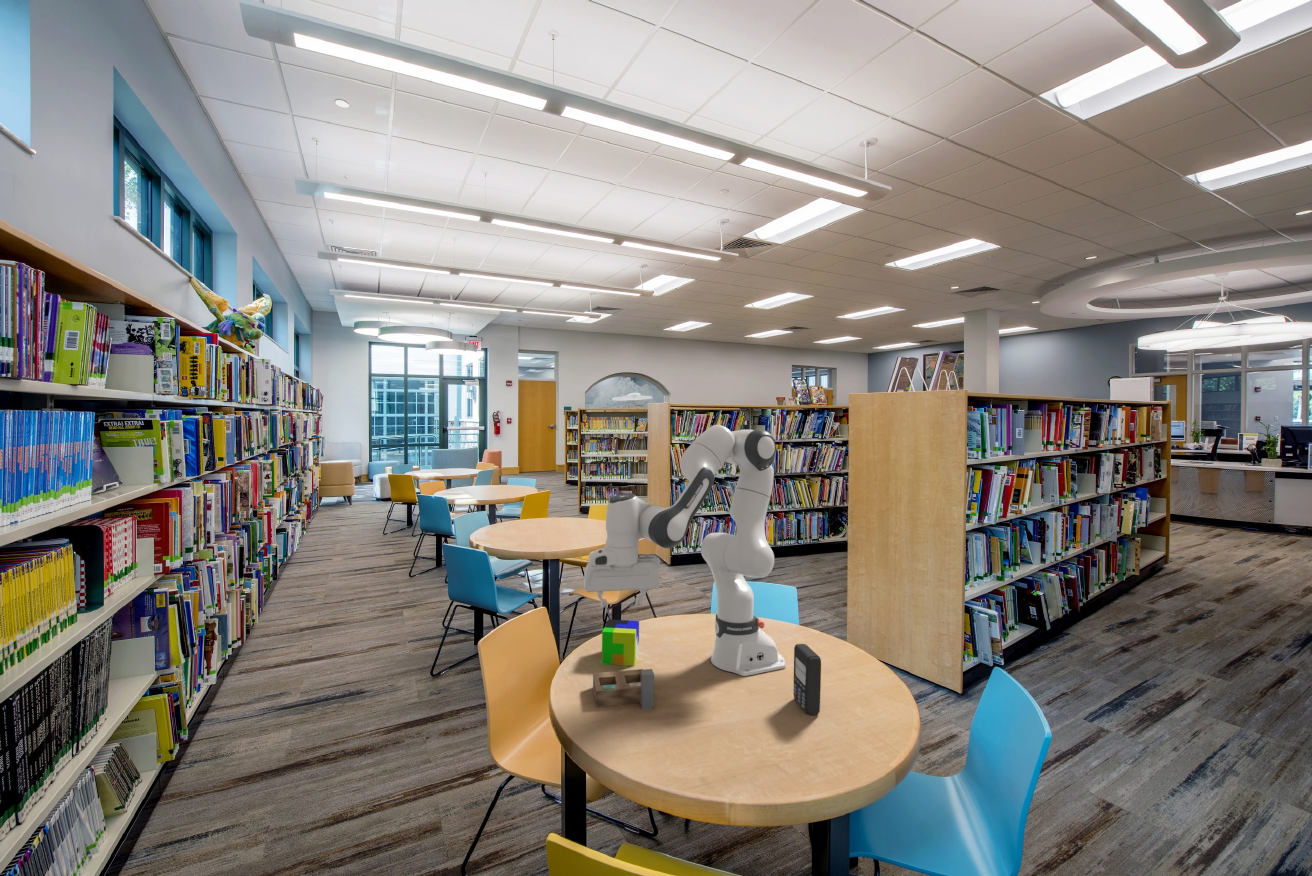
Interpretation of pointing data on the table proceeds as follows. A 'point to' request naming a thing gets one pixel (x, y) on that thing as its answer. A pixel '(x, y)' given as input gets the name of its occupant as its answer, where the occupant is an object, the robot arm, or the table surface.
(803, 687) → the card reader
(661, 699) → the table surface
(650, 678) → the plug
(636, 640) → the puzzle toy
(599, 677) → the socket block
